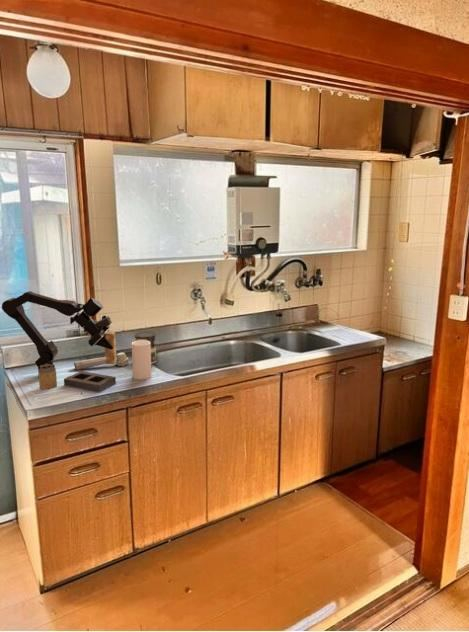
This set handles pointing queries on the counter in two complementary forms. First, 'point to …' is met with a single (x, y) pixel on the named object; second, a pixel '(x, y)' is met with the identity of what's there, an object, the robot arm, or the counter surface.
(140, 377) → the cup
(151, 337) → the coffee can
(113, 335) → the wood peg
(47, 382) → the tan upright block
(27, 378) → the counter surface
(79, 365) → the wooden mallet
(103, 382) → the rail
